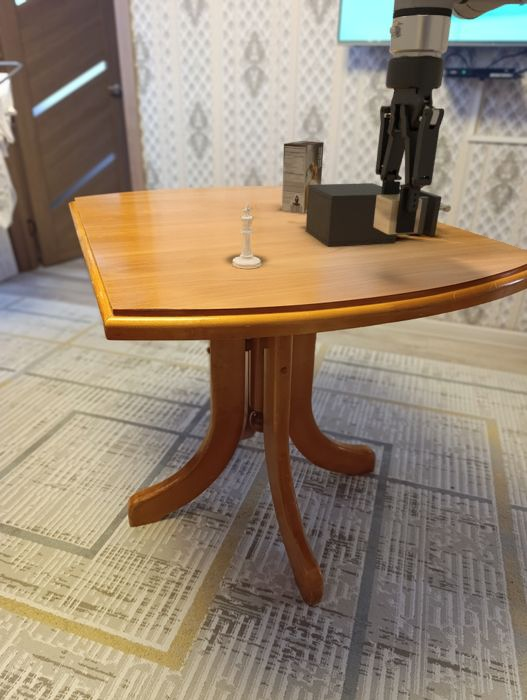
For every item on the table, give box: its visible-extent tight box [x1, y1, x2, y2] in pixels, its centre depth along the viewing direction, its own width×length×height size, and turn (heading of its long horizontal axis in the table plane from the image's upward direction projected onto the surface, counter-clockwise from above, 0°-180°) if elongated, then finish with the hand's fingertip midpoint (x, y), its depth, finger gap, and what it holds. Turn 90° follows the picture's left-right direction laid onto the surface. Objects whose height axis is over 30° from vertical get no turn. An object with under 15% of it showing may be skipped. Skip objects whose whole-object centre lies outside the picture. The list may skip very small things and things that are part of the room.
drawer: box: [397, 188, 452, 237], centre depth 106 cm, size 18×11×8 cm, turn 106°
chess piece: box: [231, 204, 262, 270], centre depth 85 cm, size 5×5×10 cm
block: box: [373, 194, 422, 235], centre depth 78 cm, size 5×5×5 cm
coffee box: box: [281, 140, 325, 214], centre depth 123 cm, size 9×6×16 cm
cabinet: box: [305, 182, 400, 248], centre depth 103 cm, size 15×13×10 cm
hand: (395, 227), depth 79 cm, fingers closed on block, 5 cm apart
